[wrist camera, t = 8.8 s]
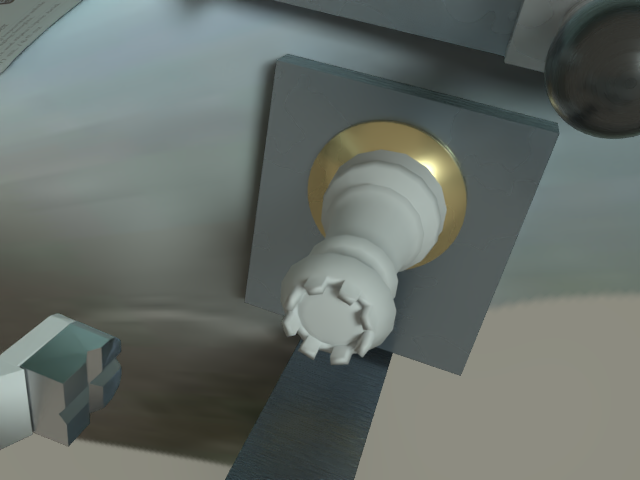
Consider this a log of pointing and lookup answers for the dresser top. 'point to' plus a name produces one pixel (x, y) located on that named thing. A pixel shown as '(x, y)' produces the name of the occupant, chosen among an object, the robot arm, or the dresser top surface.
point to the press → (416, 281)
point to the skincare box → (26, 24)
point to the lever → (584, 60)
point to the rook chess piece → (362, 254)
